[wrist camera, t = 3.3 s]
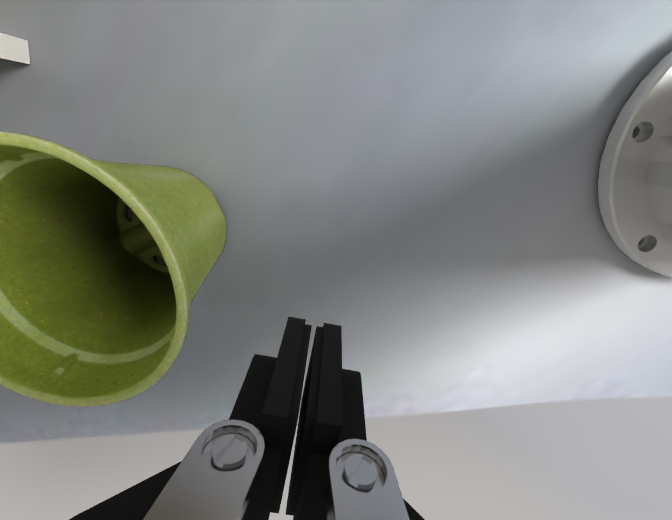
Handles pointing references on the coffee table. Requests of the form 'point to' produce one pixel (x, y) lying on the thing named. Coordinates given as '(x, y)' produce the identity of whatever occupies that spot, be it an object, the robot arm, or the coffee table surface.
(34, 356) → the plant pot
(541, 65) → the coffee table surface
